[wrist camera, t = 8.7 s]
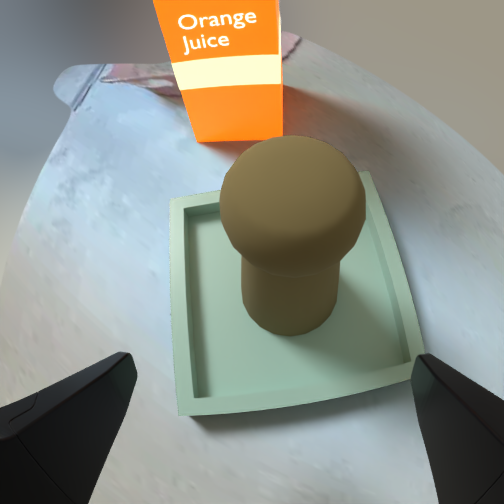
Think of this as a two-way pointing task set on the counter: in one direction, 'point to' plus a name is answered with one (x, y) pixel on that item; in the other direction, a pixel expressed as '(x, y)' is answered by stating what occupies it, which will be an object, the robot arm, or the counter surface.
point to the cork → (291, 228)
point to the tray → (278, 346)
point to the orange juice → (226, 65)
